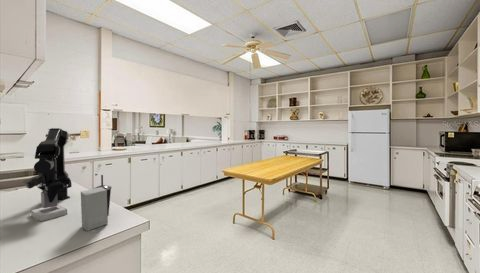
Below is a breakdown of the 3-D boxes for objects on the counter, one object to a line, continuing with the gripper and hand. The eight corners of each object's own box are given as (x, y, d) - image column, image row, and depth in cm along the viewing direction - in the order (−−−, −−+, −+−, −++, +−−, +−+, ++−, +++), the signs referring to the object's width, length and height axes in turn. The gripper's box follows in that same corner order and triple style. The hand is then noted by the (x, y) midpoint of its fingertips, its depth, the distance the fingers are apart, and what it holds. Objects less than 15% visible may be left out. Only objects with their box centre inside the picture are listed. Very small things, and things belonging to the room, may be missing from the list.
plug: (41, 206, 103) (40, 191, 103) (54, 203, 108) (54, 188, 107) (44, 208, 101) (44, 192, 101) (57, 205, 106) (57, 190, 105)
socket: (31, 215, 103) (31, 209, 103) (57, 209, 112) (57, 203, 112) (40, 221, 97) (40, 214, 97) (67, 214, 106) (67, 207, 105)
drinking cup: (89, 217, 102) (88, 175, 101) (105, 212, 109) (105, 172, 108) (98, 221, 98) (98, 177, 97) (115, 215, 105) (114, 174, 104)
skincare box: (102, 220, 99) (102, 186, 98) (108, 225, 94) (108, 189, 94) (80, 227, 92) (79, 190, 92) (85, 232, 88) (85, 193, 87)
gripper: (19, 169, 102) (20, 202, 102) (32, 174, 92) (33, 210, 93) (49, 166, 111) (50, 196, 112) (64, 170, 101) (65, 203, 102)
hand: (49, 201), depth 104 cm, fingers closed on plug, 4 cm apart
